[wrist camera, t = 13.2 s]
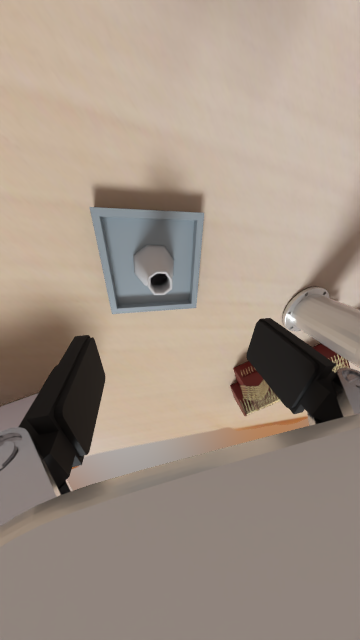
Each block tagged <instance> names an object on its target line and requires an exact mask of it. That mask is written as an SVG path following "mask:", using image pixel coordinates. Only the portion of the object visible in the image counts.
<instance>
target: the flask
mask: <svg viewBox="0 0 360 640" xmlns="http://www.w3.org/2000/svg"><path fill="white" fill-rule="evenodd" d="M133 261H134V273H135V274H136V276H137V277H138V278H139V279H140V280H141V282H142V283H143V284H144V285H145V286H148V288H149V289H150V290H151V292H152V293H153V294H154V295H165V294H166V293H167V292H169V291H170V290H172V281H173V279H172V277H173V267H174V260H173V258H172V257H171V255H170V254H169V252H168V251H167V249H166V248H165V246H160V245H146V246H145V247H143V248H142V249H141V250H140V251H138V252H137V253H136V254H134V255H133Z"/></svg>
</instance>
